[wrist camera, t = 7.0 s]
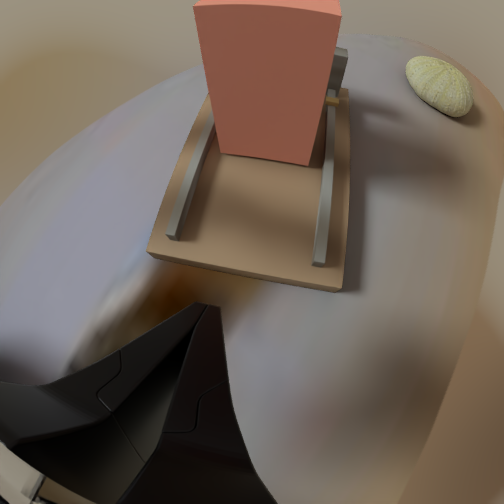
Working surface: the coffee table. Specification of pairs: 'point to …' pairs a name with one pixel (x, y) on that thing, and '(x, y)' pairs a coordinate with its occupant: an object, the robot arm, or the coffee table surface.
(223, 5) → the salmon pink rectangular block
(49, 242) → the coffee table surface
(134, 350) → the robot arm
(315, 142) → the base
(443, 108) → the sea urchin shell
